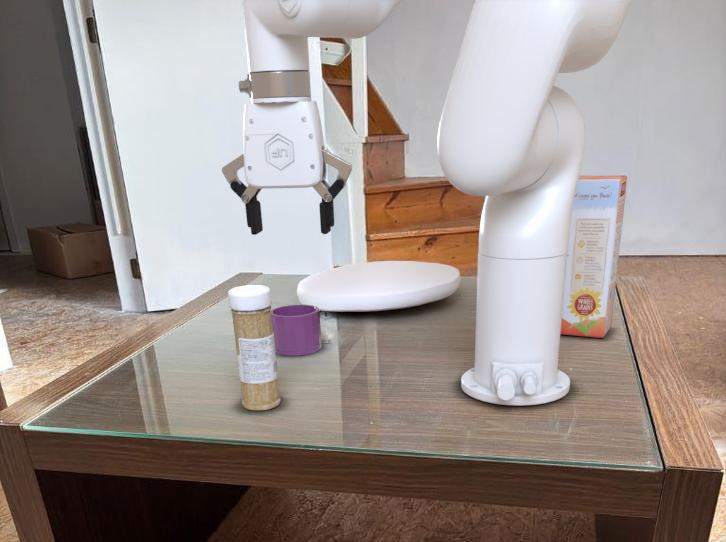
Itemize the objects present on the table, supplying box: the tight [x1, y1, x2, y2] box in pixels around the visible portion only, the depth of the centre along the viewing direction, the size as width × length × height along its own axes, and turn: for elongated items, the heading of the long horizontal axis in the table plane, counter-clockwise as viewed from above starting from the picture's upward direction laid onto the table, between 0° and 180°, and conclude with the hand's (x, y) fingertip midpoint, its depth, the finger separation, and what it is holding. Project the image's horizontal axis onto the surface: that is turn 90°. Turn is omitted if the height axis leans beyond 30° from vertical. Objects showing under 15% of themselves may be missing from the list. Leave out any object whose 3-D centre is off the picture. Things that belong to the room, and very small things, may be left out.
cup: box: [271, 303, 322, 357], centre depth 103 cm, size 7×7×6 cm
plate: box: [296, 260, 462, 313], centre depth 125 cm, size 28×6×27 cm
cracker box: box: [560, 174, 628, 339], centre depth 102 cm, size 14×6×21 cm, turn 63°
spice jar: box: [227, 284, 282, 412], centre depth 81 cm, size 5×5×14 cm
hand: (291, 232), depth 99 cm, fingers open, 9 cm apart
